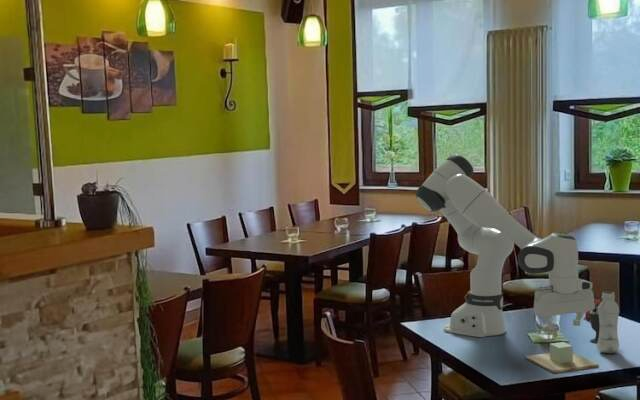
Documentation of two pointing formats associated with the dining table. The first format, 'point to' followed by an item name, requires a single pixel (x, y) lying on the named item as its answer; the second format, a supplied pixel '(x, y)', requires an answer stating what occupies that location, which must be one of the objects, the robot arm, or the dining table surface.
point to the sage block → (561, 352)
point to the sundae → (595, 322)
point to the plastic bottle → (608, 324)
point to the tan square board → (556, 367)
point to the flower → (594, 304)
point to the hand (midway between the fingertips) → (563, 327)
